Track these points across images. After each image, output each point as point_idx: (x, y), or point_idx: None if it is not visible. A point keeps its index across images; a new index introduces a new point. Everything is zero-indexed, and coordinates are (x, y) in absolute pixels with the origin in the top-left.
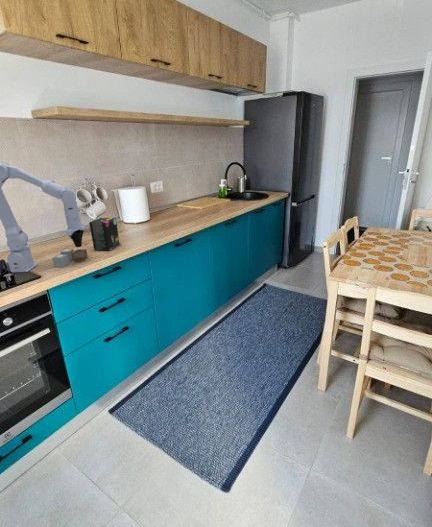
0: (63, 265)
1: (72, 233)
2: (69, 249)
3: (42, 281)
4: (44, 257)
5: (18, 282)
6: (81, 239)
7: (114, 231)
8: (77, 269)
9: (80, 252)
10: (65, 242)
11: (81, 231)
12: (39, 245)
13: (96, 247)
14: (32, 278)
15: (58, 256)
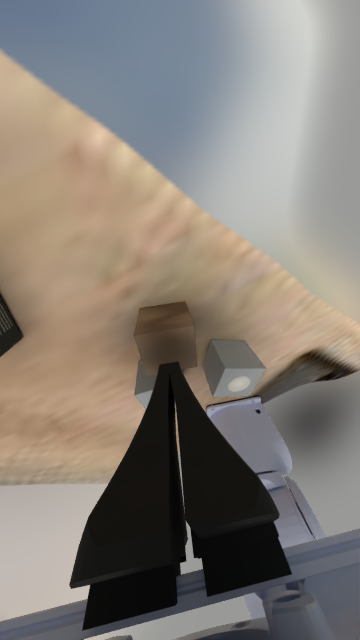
0: (244, 344)
1: (331, 541)
2: (149, 399)
3: (348, 330)
4: None
5: (321, 375)
6: (158, 407)
7: None
8: (282, 277)
9: (194, 335)
10: (4, 456)
11: (171, 555)
12: (66, 473)
13: (2, 334)
14: (308, 364)
15: (247, 384)
